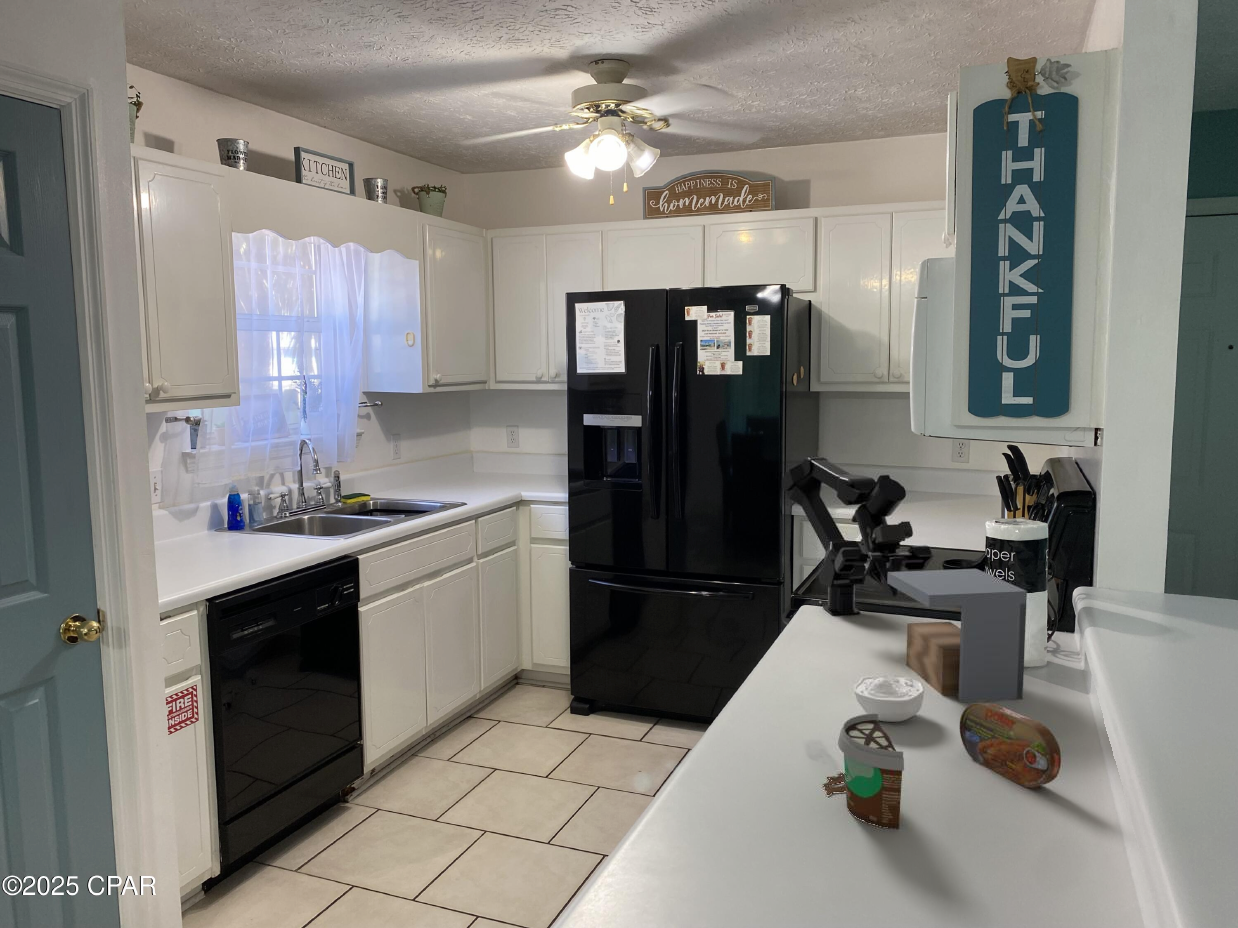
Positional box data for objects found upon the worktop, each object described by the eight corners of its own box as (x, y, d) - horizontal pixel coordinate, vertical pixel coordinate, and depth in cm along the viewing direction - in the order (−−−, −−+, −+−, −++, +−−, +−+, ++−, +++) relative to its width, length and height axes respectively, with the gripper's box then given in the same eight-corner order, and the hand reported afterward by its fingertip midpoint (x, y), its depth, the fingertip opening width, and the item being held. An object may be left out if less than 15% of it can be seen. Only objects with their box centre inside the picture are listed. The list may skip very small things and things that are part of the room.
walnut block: (906, 665, 161) (907, 622, 160) (948, 664, 162) (950, 621, 161) (941, 695, 146) (942, 649, 145) (988, 694, 147) (989, 647, 146)
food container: (827, 785, 115) (828, 711, 114) (875, 785, 115) (876, 711, 114) (849, 835, 103) (850, 753, 102) (902, 835, 103) (904, 753, 102)
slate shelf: (885, 670, 158) (887, 572, 156) (972, 665, 160) (976, 568, 158) (926, 704, 142) (929, 595, 140) (1022, 698, 144) (1026, 591, 142)
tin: (956, 752, 125) (958, 694, 124) (973, 748, 126) (975, 691, 125) (1045, 799, 111) (1048, 735, 110) (1063, 794, 112) (1066, 730, 111)
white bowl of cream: (939, 716, 137) (940, 674, 136) (894, 738, 130) (895, 693, 129) (883, 698, 145) (884, 658, 144) (838, 717, 138) (838, 675, 137)
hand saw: (778, 725, 136) (778, 720, 136) (807, 723, 136) (807, 719, 136) (824, 799, 112) (824, 794, 112) (859, 797, 113) (859, 792, 112)
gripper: (841, 508, 174) (860, 577, 165) (931, 506, 176) (955, 573, 167) (826, 538, 183) (844, 605, 174) (912, 536, 185) (934, 602, 176)
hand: (894, 596), depth 172 cm, fingers closed
